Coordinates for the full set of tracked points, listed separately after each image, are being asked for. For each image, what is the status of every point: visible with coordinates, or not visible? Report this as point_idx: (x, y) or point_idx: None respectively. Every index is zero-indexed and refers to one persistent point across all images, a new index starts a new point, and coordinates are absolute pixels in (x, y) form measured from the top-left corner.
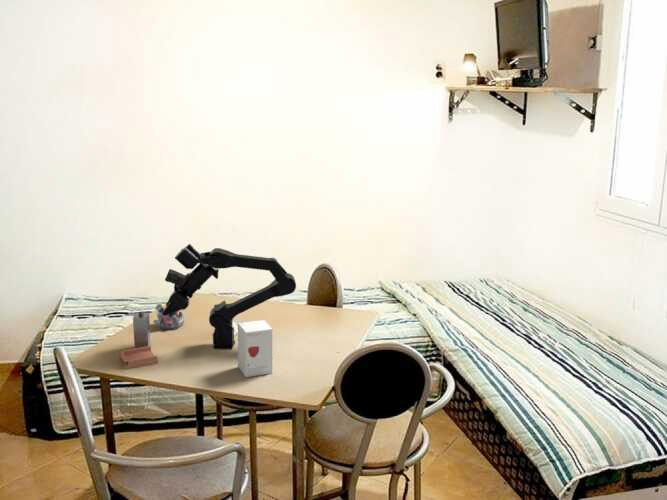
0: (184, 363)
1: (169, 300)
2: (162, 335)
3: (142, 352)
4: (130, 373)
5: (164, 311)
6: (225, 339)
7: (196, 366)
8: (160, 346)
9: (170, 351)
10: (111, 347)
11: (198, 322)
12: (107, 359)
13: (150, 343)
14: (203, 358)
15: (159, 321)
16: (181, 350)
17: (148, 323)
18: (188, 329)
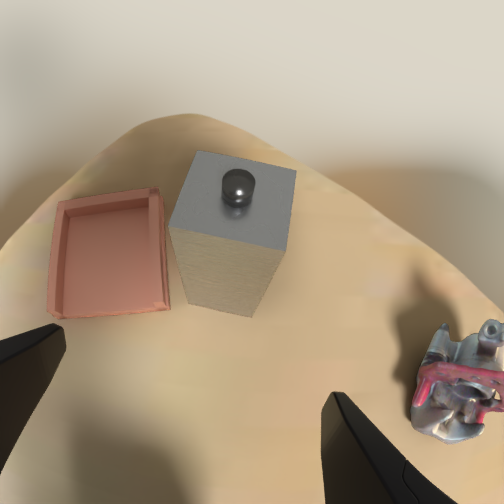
0: None
1: (348, 438)
2: (357, 368)
3: (149, 272)
4: (33, 228)
5: (25, 336)
6: None
7: None
8: (228, 356)
9: (155, 390)
10: None
11: (445, 484)
12: (165, 170)
13: (246, 313)
14: (55, 482)
15: (435, 349)
16: (153, 436)
17: (226, 267)
18: None
